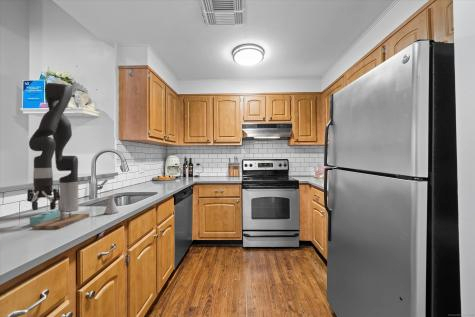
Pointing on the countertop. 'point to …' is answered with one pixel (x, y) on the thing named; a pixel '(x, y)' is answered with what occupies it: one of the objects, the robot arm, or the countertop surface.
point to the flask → (111, 206)
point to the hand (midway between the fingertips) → (43, 209)
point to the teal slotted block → (44, 217)
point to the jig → (61, 221)
